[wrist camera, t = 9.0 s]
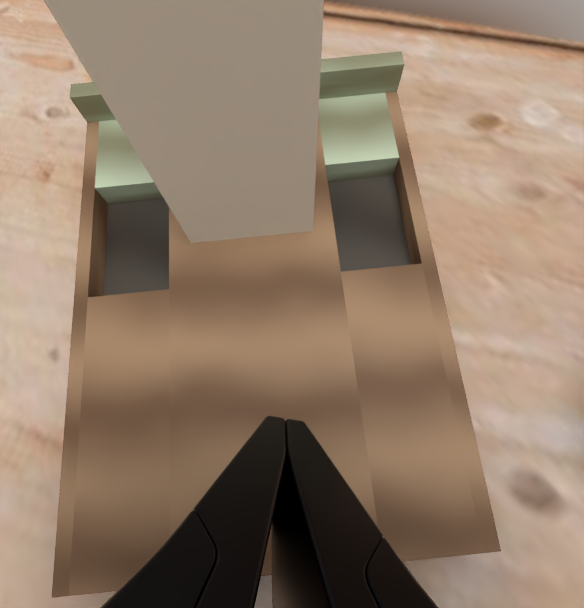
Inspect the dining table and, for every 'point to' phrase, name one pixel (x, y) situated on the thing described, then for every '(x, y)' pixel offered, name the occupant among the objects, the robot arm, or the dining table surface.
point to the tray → (263, 347)
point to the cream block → (212, 103)
